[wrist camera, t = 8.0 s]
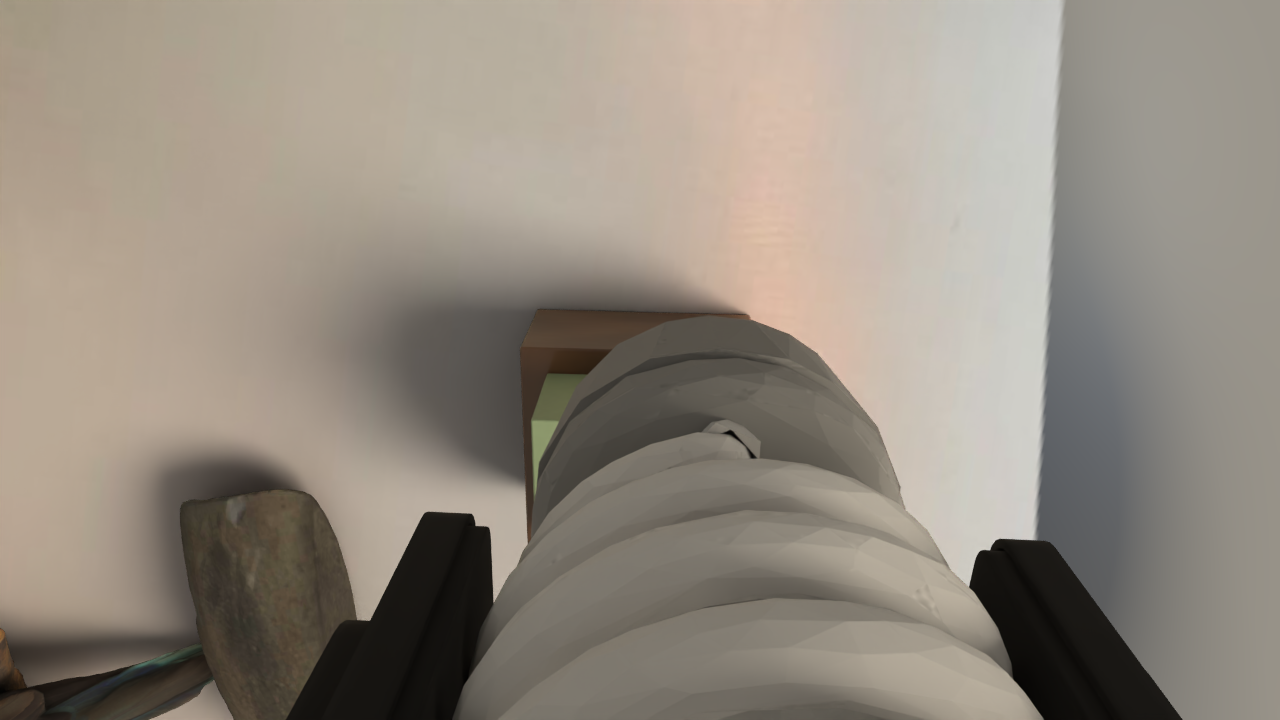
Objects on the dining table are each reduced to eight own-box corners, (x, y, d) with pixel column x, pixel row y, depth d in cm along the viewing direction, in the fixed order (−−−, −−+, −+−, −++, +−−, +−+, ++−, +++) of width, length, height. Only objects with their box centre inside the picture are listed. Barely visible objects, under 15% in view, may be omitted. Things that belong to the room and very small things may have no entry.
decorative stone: (189, 470, 38) (136, 519, 35) (323, 461, 38) (284, 510, 34) (282, 744, 45) (245, 812, 41) (397, 739, 44) (371, 807, 41)
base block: (749, 314, 35) (761, 354, 30) (736, 498, 38) (744, 556, 34) (537, 308, 35) (519, 347, 31) (542, 491, 38) (527, 549, 34)
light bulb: (851, 500, 17) (1191, 1387, 6) (585, 525, 18) (441, 1395, 6) (840, 235, 15) (1333, 841, 4) (538, 272, 15) (203, 910, 4)
